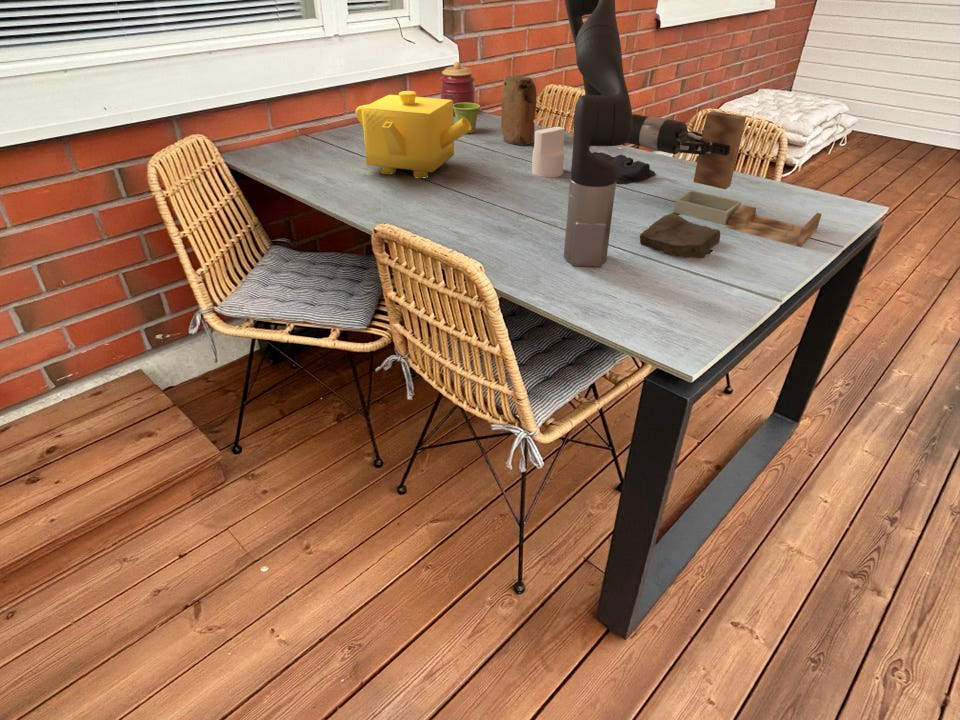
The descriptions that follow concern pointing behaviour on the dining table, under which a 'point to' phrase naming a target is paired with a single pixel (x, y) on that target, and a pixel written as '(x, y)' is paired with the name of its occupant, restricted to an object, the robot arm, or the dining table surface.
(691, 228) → the brown irregular slab
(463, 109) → the plant pot
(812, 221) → the rack
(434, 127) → the cube teapot
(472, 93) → the canister
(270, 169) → the dining table surface
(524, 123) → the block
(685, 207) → the tray
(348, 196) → the dining table surface
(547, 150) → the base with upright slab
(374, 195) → the dining table surface
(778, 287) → the dining table surface
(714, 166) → the board
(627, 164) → the dark slate chunk
